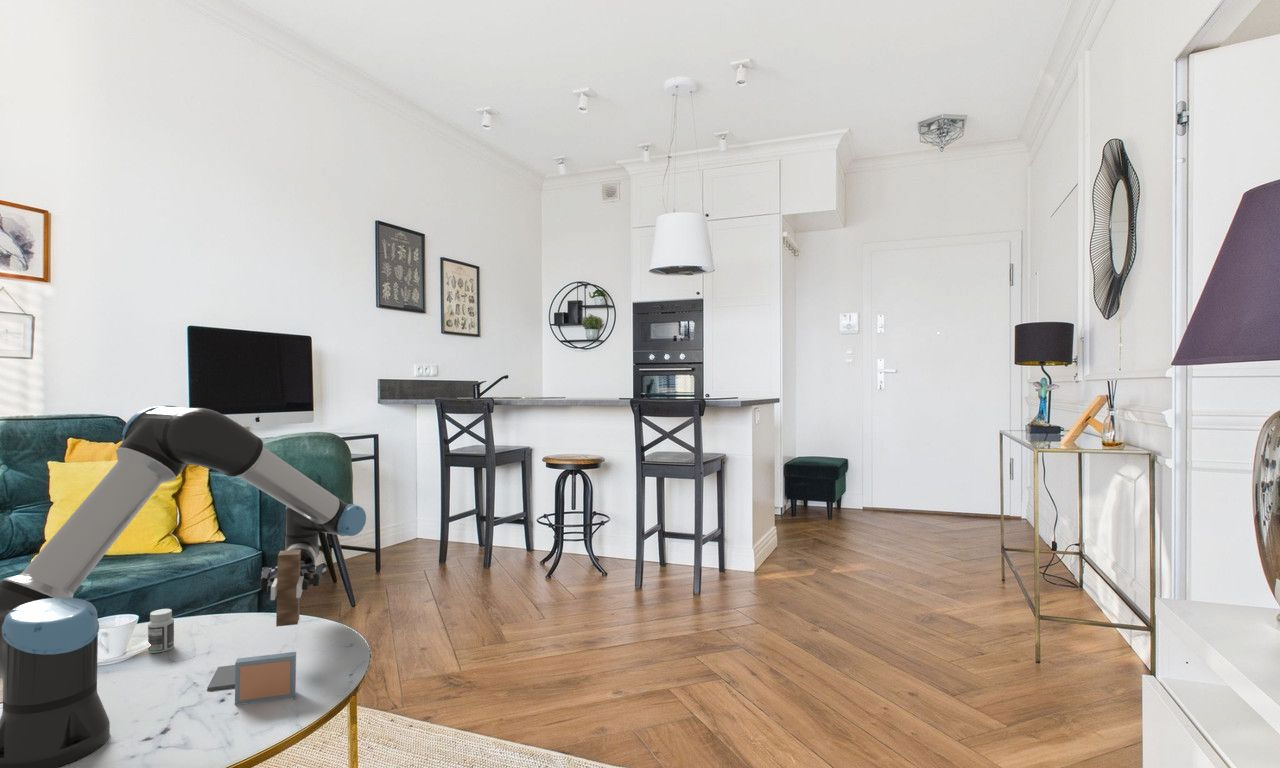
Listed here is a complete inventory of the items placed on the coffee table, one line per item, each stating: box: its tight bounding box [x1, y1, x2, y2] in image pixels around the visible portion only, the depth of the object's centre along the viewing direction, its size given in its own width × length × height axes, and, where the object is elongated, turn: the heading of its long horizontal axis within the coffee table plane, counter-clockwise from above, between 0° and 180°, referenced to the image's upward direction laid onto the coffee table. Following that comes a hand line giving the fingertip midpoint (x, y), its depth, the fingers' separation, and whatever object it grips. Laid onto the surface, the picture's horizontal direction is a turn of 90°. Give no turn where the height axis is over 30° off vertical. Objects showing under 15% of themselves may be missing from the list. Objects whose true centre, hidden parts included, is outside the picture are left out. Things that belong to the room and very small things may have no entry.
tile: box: [234, 651, 297, 706], centre depth 128 cm, size 10×2×8 cm, turn 112°
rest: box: [206, 664, 235, 692], centre depth 137 cm, size 10×10×1 cm
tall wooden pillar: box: [275, 550, 301, 627], centre depth 144 cm, size 4×4×15 cm
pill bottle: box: [147, 608, 175, 654], centre depth 150 cm, size 5×5×8 cm
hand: (285, 592), depth 139 cm, fingers closed on tall wooden pillar, 4 cm apart
